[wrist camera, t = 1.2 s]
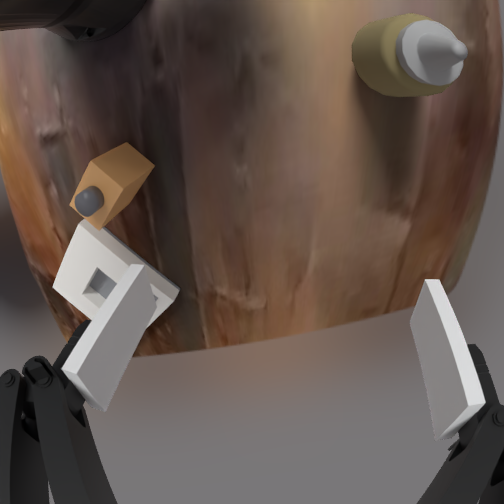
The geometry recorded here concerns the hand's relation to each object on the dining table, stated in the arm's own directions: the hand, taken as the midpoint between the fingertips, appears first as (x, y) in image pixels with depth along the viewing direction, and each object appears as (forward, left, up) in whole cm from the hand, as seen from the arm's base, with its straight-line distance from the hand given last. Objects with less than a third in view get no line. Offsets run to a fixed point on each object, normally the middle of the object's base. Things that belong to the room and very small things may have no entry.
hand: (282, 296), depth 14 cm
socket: (-8, -35, -24) cm, 43 cm away
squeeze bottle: (-2, +15, -24) cm, 28 cm away
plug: (-15, -16, -24) cm, 32 cm away
